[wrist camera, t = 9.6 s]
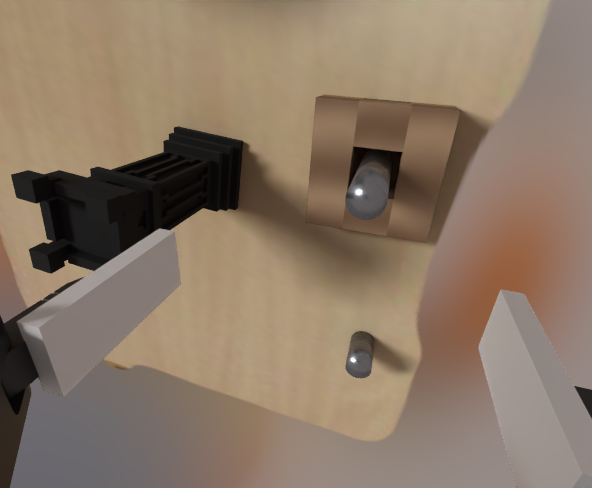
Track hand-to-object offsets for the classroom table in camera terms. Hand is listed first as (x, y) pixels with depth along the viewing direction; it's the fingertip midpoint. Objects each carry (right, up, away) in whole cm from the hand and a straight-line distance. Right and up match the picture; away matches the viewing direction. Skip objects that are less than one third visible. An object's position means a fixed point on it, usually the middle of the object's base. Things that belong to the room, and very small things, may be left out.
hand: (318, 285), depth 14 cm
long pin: (+7, +10, +21) cm, 25 cm away
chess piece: (-11, +11, +27) cm, 31 cm away
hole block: (+7, +10, +21) cm, 25 cm away
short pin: (+8, -11, +31) cm, 34 cm away
